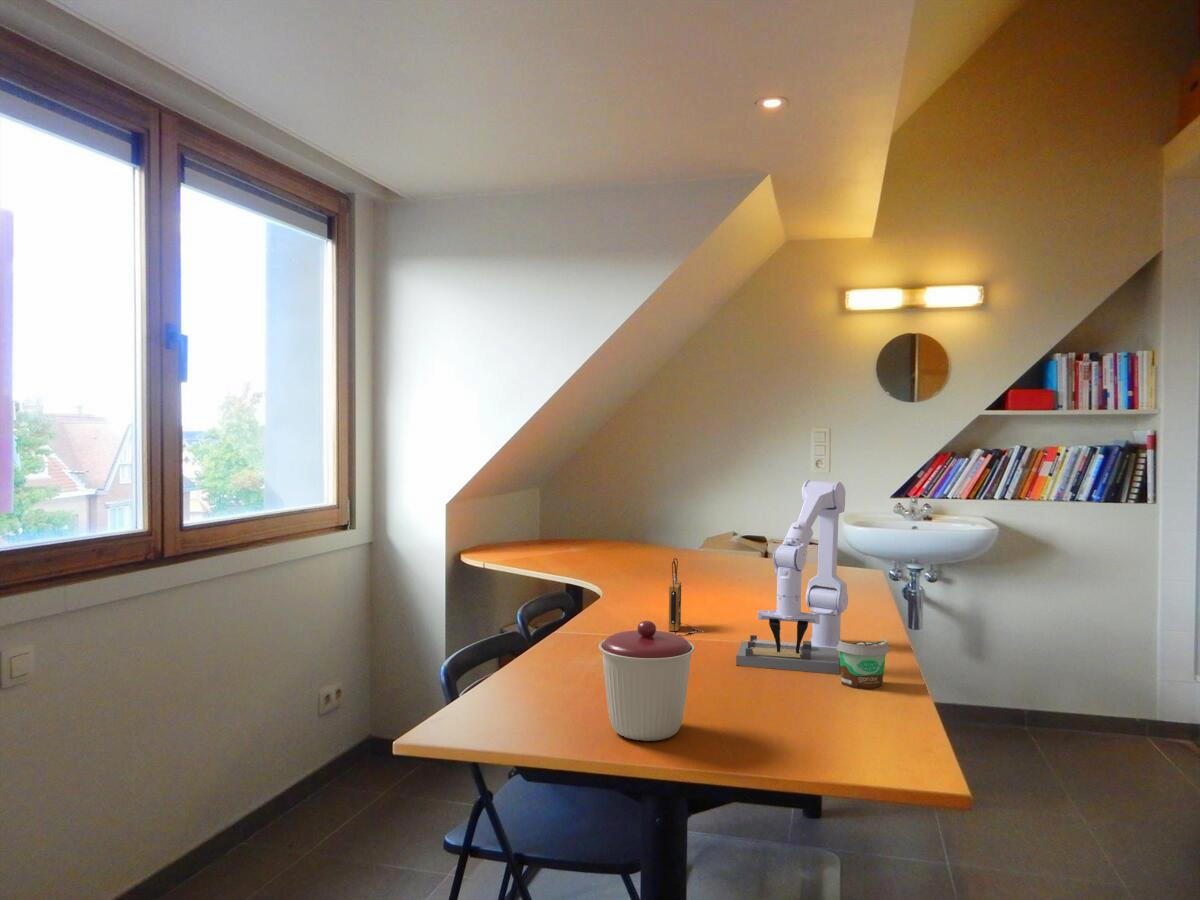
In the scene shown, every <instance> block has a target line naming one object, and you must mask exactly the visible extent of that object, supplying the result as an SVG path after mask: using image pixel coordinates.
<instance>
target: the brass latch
mask: <svg viewBox="0 0 1200 900" xmlns="http://www.w3.org/2000/svg"><path fill="white" fill-rule="evenodd" d="M750 648H753V655H762V656H778V657H794V658H800V655H801V650H799V653H796V650H793V649H780V652H779V651H777V649H776V648H760V647H750Z"/></svg>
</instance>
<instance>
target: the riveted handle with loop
mask: <svg viewBox="0 0 1200 900" xmlns="http://www.w3.org/2000/svg"><path fill="white" fill-rule="evenodd" d="M675 561H676V562H675ZM678 563H679V561H678V558H677V557H676V558H673V561H671V574H672V575H671V577H672V581H671V582H670V584H669V585H668V632H673V631H678V630H680V628H681V626H682V624H681V623H682V621H681V619H682V581H678V565H679V564H678ZM673 566H674V567H673ZM690 628H692V629H691V630H693V629H695V630H694V631H690V632H687V633H686V634H688V633H693V634H694V632H695V633H697V631H696V630H698V632H701V631H702V632H701V633H704V632H705V631H703V630H701V629H699V628H695V627H690V626H689V628H688V629H690ZM678 632H679V631H678ZM674 634H677V632H674Z"/></svg>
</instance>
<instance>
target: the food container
mask: <svg viewBox="0 0 1200 900" xmlns="http://www.w3.org/2000/svg"><path fill="white" fill-rule="evenodd" d="M841 641H842V640H841ZM841 641H839V644H837V649H836V650H838V651H839V669H840V677H841V678H840V679H841V681H840V682H841V685H842V686H844V687H848V688H850V689H857V690H867V691H870V690H872V691H873V690H877V689H880V688H882V686H883V682H884V681H883V680H884V672H885V671H884V670H885V664H886V656H887V655H886V654H888V653H889V652H890V648H889V644H888V641H887V639H886V638H884V637H882V638H881V641H873V642H871V641H857V642H853V643H848V642H843V641H842V642H841Z"/></svg>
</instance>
